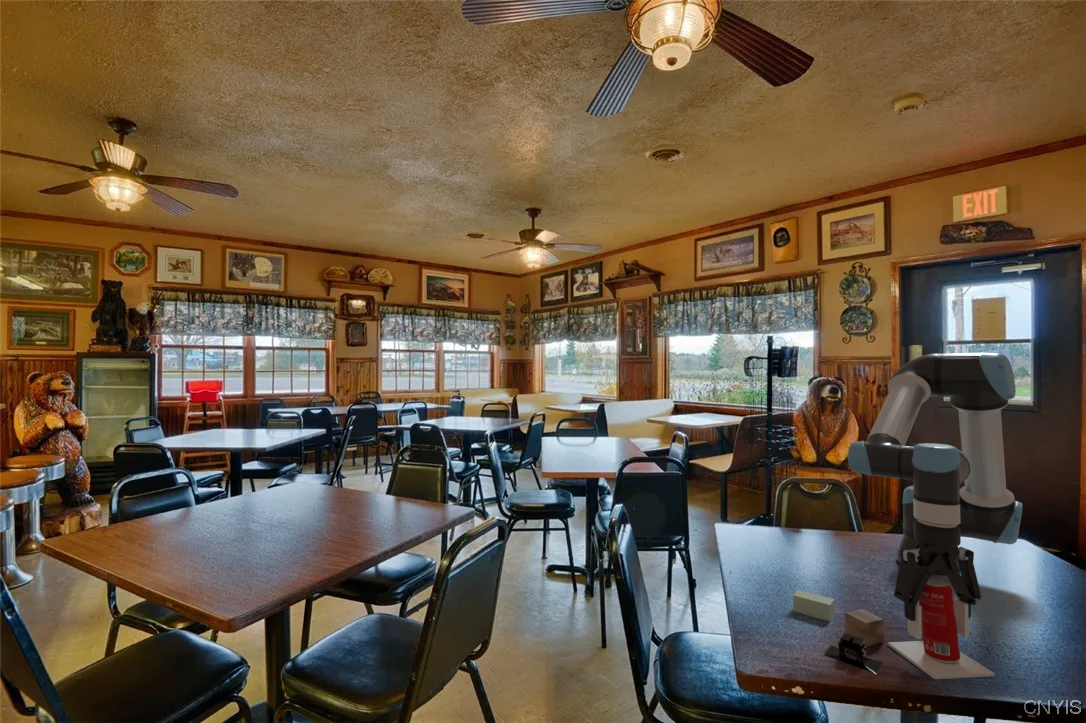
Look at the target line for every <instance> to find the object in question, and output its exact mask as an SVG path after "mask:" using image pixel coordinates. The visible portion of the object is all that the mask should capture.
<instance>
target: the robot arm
mask: <svg viewBox="0 0 1086 723" xmlns="http://www.w3.org/2000/svg"><path fill="white" fill-rule="evenodd" d="M1015 382H1016V381H1015V375H1014V371H1013V367H1012V364H1011V361H1010V359H1009V358H1008V357H1007V356H1006V355H1005V354H1003V353H1001V352H1000V353H999V352H985V351H980V352H959V353H958V352H957V353H956V352H955V353H951V352H950V353H928V354H924V355H921V356H918V357H916V358H914V359H911V360H910V361H908V362H906V363H905V364H903V365H902V366H901V367H899V368H898V369H897V370H896V371H895V372H894V374H892V376H891V378H890V379H889V381H888V385H887V391H888V394H887V396H886V398H885V400H884V403H883V405H882V407H881V408H880V411H879V413H878V415H877V417H876V420H875V422H874V424H873V425H872V428H871V430H870V433H869V434H868V437H867V438H866V441H864V440H861V441H858V440H857V441H853V442H851V443H850V445H849V447H848V451H847V460H848V465H849V466H848V467H849V468H850V470H851V471H852V472H854V473H858V474H863V475H868V476H872V477H873V476H876V477H882V478H883V477H884V478H889V479H890V478H891V479H898V480H899V479H900V480H906V481H913V485H909V486H906V487H905V488H904V490H903V495H902V501H901V502H902V518H903V519H902V524H903V525H902V527H903V529H902V531H903V534H902V535H903V536H902V538H901V540H900V544H899V546H898V548H897V550H896V561H897V562H898V563H899V569H898V572H897V574H898V575H897V578H896V583H895V588H894V591H893V592H894V593H893V596H894V597H895V598H896V599H898V600H900V601H902V602H903V604H904V612H903V613H904V614H903V615H904V616H905V618H906V619H907V623H906V624H907V633H908V634H909V635H911V636H912V637H914V638H915V639H917V640H923V634H922V616H921V606H920V605H919V599H920V596H921V594H922V592H923V590H924V588H925V586H926V584H927V581H928V579H929V577H932V576H933V575H935V574H936V575H946V577H947V579H948V582H949V583H950V586H951V588H952V590H953V591H954V593H955V595H956V596H957V597H953V598H954V607H955V615H956V624H957V633H958V635H960V636H962V637H964V638H970V633H969V626H970V623H969V619H971V617H972V614H971V613H972V607H971V606H975V605H976V604H977V600H978V601H979V600H981V599H982V594H981V593H982V592H981V590H980V585H979V581H978V576H977V572H976V568H975V564H974V558H975V554H974V553H975V552H974V551H973V550H971V549H968V548H965V547H963V546H961V537H965V538H972V539H976V540H980V541H981V540H982V541H987V542H991V543H992V542H993V543H994V544H998V543H999V544H1004V545H1014V544H1015V543H1016V542H1017V541H1018V536H1019V534H1020V533H1019V532H1020V525H1021V521H1022V513H1023V503H1022V502H1020V501H1018V500H1015V496H1014V493H1013V492H1012V491H1010V490H1009V489H1008V488H1007V482H1006V479H1007V478H1006V467H1005V464H1006V463H1005V455H1004V454H1005V453H1004V438H1003V436H1004V435H1003V423H1002V410H1003V409H1005V408H1006V407H1007V406H1008V405H1009V400H1012V399H1014V398H1015V397H1016V389H1017V388H1016V383H1015ZM931 397H939V398H949V400H950V401H949V402H950V405H951V406H952V407H953V408H955V409H956V410H958V411H957V412H958V421H959V422H958V424H959V433H960V442H961V444H960V445H961V450H960V449H958V448H957V447H956V446H953V445H950V444H946V443H945V444H944V443H930V442H929V443H927V442H926V443H917V444H915V445H914V446H911V445H906V444H907V442H908V439H909V436H910V434H911V432H912V429H913V426H914V423H915V422H916V419H917V416H918V413H919V411H920V409H921V406H922V404H923V403H925V402H926V401H928V399H929V398H931ZM961 483H964V486H962V487H961Z"/></svg>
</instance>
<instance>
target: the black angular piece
mask: <svg viewBox="0 0 1086 723" xmlns="http://www.w3.org/2000/svg"><path fill="white" fill-rule="evenodd" d="M837 644H838V645H837V646H836V645H833V644H831V645H830V646H829V647H828V649H826V651H825V652H824V654H823V656H825V657H828V658H830V659H834V660H836V661H838V662H841V663H844V664H848V665H850V666H852V667H855V668H857V669H861V670H864V671H867V672H869V673H872V674H875V675H877V674H878V673H879V671H880V670H881V667H882V666H883V665H884V662H883V661H881V660H878V659H874V658H871V657H869V656H867V651H868V648H867V647H866V644H865V642H864V639H862V638H859V637H856V636H852V635H849V634H846V633H845V632H844V633H843V634H842V636H840V640H839V641H838V643H837Z"/></svg>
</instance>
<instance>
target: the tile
mask: <svg viewBox="0 0 1086 723" xmlns="http://www.w3.org/2000/svg"><path fill="white" fill-rule="evenodd" d="M887 646H889V648H891V649H893V650H894V651H895V652H896V653H897V654H899V655H901V656H902V657H903V658H904V659H906V660H907V661H908V662H910V663H912V664H913V665H915V666H916V668H918V669H920V670H921V671H923V672H924V673H925V674H927V675H928V676H929V677H931V678H932V679H934V680H943V679H944V680H946V679H947V680H949V679H964V678H965V679H966V678H968V679H969V678H985V677H988V678H989V677H995V672H993V671H992V670H990V668H987V667H986V666H984V665H983V664H981V663H979V662H977V661H976V660H974V659H973V658H971V657H969V656H967V655H966V654H965V653H963V652H961V651H960V659H959V661H957V662H954V663H945V662H940V661H937V660H934V659H932V658H930V657H929V656H928V655H927V654H926V653H925V651H924V643H923V640H914V641H911V640H910V641H891V642H890V641H888V642H887Z"/></svg>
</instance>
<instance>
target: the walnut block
mask: <svg viewBox="0 0 1086 723" xmlns="http://www.w3.org/2000/svg"><path fill="white" fill-rule="evenodd" d="M844 619H845V620H844V621H845V624H844V625H845V629H844V630H845V632H844V633H846V634H849V635H852V636H856V637H859V638H862V639H864V642H865V644H866V648H867V647H870V646H875V645H879V644H883V643H884V642H885V639H884V638H885V630H884V629H885V628H884V627H885V626H884V624H885V623H884V622H885V621H884V618H882V617H880V616H878V615H876V614H873V613H872V612H869V611H867V610H865V609H863V608H861V609H855V610H850V611H846V612H845V614H844Z"/></svg>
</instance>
